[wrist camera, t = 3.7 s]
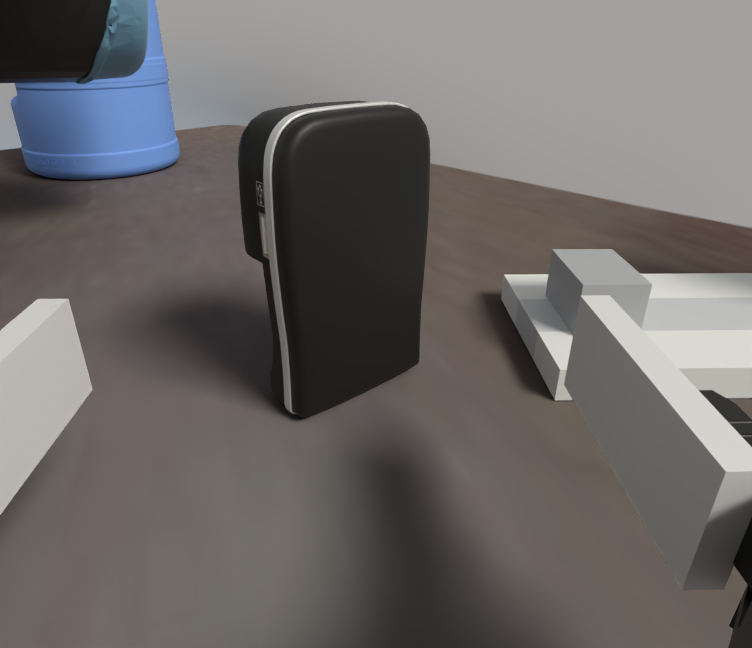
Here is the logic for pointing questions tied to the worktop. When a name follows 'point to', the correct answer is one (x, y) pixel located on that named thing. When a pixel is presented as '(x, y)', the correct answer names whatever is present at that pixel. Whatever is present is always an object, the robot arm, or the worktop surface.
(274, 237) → the battery charger
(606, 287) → the mount
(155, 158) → the water jug
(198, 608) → the worktop surface
